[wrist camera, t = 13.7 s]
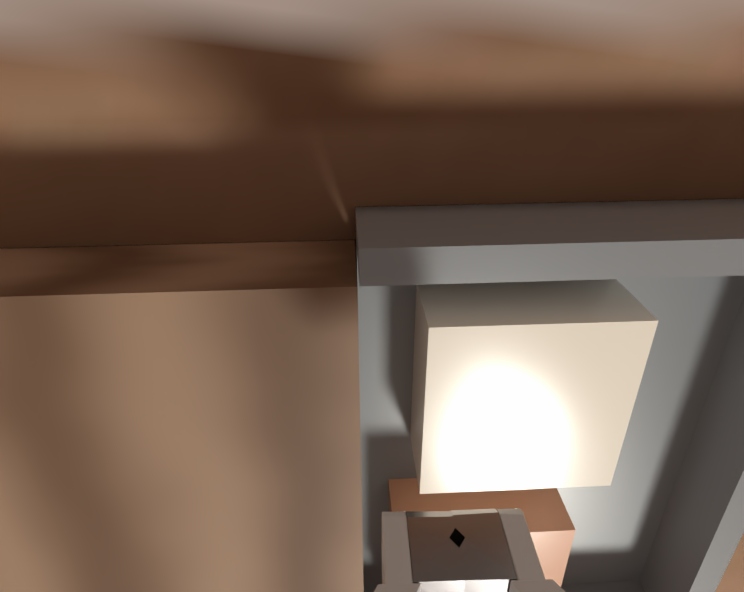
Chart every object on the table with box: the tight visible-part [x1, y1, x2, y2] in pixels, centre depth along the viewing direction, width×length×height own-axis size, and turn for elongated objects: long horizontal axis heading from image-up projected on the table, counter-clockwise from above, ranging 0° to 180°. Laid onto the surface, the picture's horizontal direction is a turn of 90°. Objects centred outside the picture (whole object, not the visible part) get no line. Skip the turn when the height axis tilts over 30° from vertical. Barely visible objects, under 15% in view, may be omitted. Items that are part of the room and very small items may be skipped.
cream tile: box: [410, 279, 658, 494], centre depth 16 cm, size 6×6×2 cm
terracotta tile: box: [388, 478, 576, 587], centre depth 20 cm, size 6×6×2 cm
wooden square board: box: [0, 240, 364, 592], centre depth 18 cm, size 16×16×3 cm
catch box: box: [356, 199, 744, 592], centre depth 18 cm, size 13×18×3 cm
